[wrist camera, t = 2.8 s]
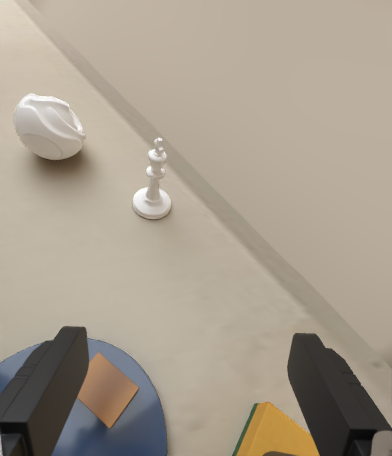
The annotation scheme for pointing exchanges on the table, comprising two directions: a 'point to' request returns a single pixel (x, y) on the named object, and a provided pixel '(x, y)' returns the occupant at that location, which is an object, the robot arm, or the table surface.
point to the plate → (93, 427)
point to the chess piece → (153, 187)
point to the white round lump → (48, 127)
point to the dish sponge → (273, 435)
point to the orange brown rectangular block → (106, 390)
